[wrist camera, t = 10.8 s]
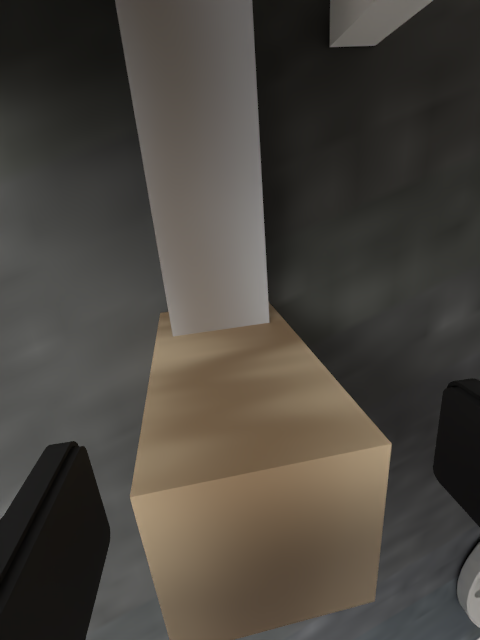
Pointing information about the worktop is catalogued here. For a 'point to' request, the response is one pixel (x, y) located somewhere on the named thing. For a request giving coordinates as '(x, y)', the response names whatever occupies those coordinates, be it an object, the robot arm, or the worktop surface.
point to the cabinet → (368, 20)
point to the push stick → (235, 362)
